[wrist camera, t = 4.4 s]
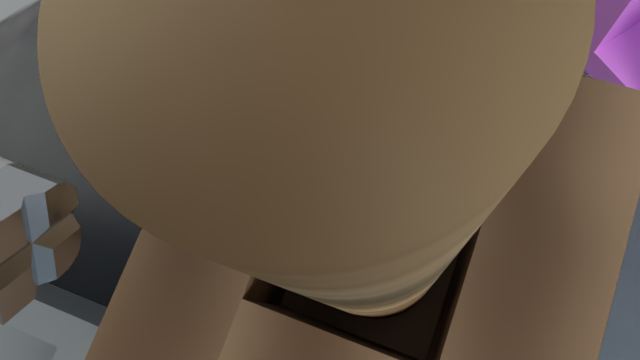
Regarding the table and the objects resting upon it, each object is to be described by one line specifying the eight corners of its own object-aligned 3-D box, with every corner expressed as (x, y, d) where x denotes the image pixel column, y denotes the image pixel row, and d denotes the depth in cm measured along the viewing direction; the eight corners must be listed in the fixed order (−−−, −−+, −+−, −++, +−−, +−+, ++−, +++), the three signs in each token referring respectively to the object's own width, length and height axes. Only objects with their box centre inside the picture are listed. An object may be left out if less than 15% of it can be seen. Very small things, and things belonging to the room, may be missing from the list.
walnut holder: (587, 162, 20) (664, 97, 14) (493, 503, 18) (539, 587, 12) (284, 73, 23) (246, -12, 17) (166, 363, 20) (76, 377, 15)
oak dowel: (449, 224, 19) (657, -185, 4) (412, 337, 18) (499, 370, 3) (341, 188, 20) (167, -264, 5) (301, 295, 19) (-57, 159, 4)
